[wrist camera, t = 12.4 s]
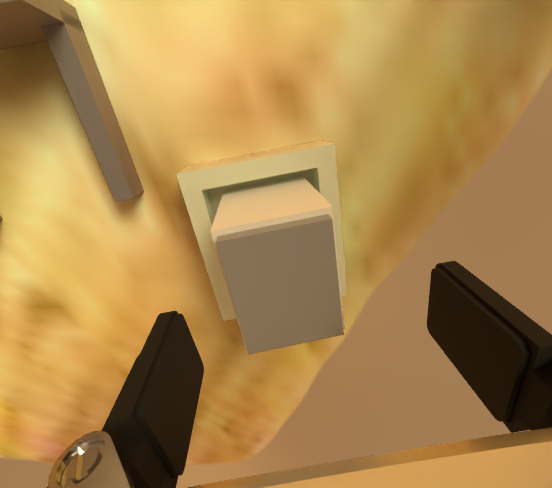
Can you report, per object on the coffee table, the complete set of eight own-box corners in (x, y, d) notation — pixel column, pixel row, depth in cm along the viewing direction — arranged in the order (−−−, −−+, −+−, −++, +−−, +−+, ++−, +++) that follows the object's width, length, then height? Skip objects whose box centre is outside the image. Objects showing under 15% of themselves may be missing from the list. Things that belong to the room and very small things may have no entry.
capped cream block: (301, 175, 20) (337, 211, 12) (314, 268, 23) (349, 345, 15) (223, 190, 19) (208, 237, 12) (247, 281, 23) (247, 366, 15)
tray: (321, 140, 20) (334, 143, 17) (335, 275, 24) (347, 295, 22) (186, 166, 20) (176, 174, 17) (225, 297, 24) (222, 321, 21)
